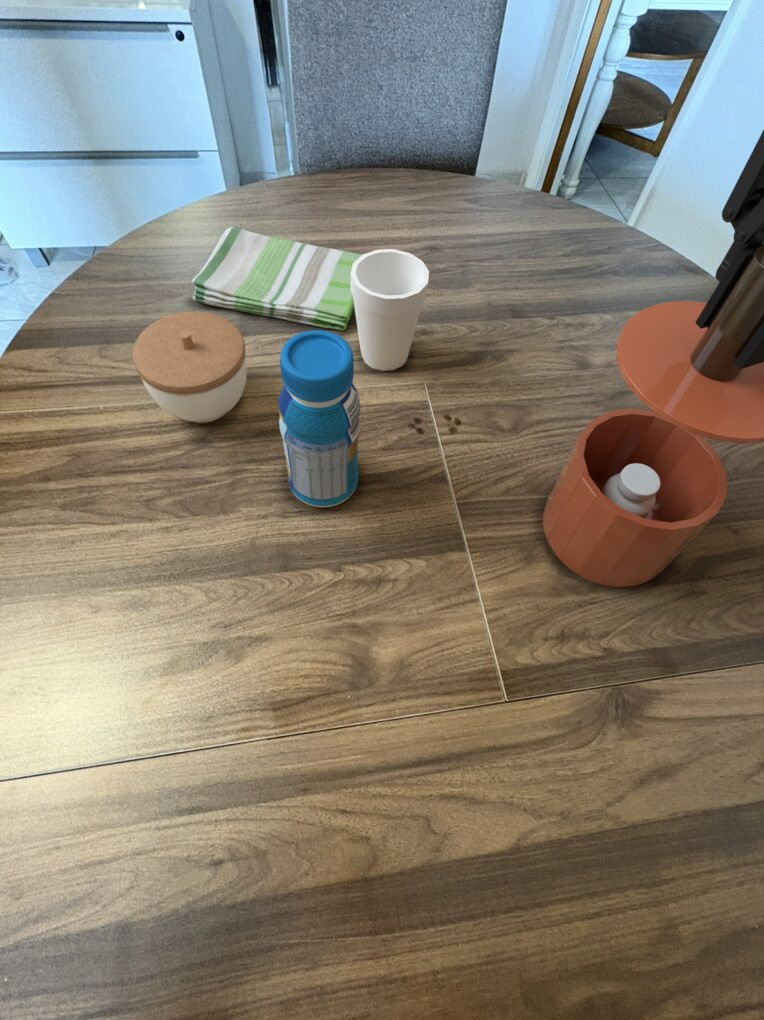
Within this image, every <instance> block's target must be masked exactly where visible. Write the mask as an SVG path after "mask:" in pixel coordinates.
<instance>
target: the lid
mask: <svg viewBox="0 0 764 1020" xmlns="http://www.w3.org/2000/svg"><path fill="white" fill-rule="evenodd" d="M706 304H707V302H703V301H692V300H675V301H665V302H661V303H657V304H654V305H651V306H648V307H646V308H644V309H642V310H639V311H638V312H637V313H635V314H634V315H633V316H632V317H631V318H629V320H628V321H626V323H625V325H623V328H622V329H621V331H620V333H619V336H618V339H617V342H616V350H615V351H616V360H617V361H616V362H617V366H618V368H619V371H620V374H621V376H622V378H623V380H624V381H625V383H626V385H627V386H628V387H629V389H630V390H631V392H632V393H633V394H634V395H635V396H636V398H638V399H639V400H640V402H641V403H643V404H644V405H645V406H646V407H647V408H648V409H649V410H650V411H654V412H655V413H656V414H658V415H659V416H661V417H662V418H664V419H665V420H667V421H669V422H670V423H672V424H674V425H676V426H678V427H680V428H682V429H684V430H686V431H689V432H691V433H694V434H697V435H699V436H703V438H706V439H710V440H714V441H719V442H720V441H721V442H726V443H732V444H733V443H735V444H757V443H764V362H762V363H759V364H756V365H753V366H749V367H746V368H743V369H740V368H739V367H738V366H737V365H736V364H735V363H734V362H735V361H736V359H737V358H738V356H739V355H740V354H741V352H742V351H743V349H744V348H745V347H746V345H747V344H748V343H749V341H750V340H751V338H752V337H753V336H754V334H755V333H756V331H757V330H758V329H759V327H760V326H761V324H762V323H763V322H764V245H763V246H761V247H759V248H758V249H757V250H756V252H755V253H754V255H753V256H752V258H751V260H750V261H749V263H748V264H747V266H746V267H745V269H744V271H743V272H742V274H741V275H740V277H739V279H738V280H737V282H736V283H735V285H734V287H733V288H732V290H731V291H730V293H729V294H728V296H727V298H726V299H725V301H724V302H723V304H722V306H721V307H720V309H719V310H718V312H717V313H716V315H715V317H714V318H713V320H712V321H711V323H710V325H709V326H708V327H706V328H702V329H701V328H700V327H699V326H698V325H697V324H696V323H695V322H696V320H697V319H698V317H699V315H700V314H701V312H702V310H703V309H704V307H705V306H706Z"/></svg>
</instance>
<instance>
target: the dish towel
mask: <svg viewBox="0 0 764 1020" xmlns="http://www.w3.org/2000/svg"><path fill="white" fill-rule="evenodd" d="M362 255H363V254H362V253H356V252H352V251H347V250H340V249H335V248H332V247H327V246H320V245H313V244H309V243H303V242H299V241H296V240H293V239H288V238H283V237H282V238H281V237H274V236H268V235H264V234H260V233H257V232H253V231H249V230H246V229H243V228H241V227H238V226H231V227H227V228H225V230H224V232H222V235H221V237H220V238H219V240H218V242H217V244H216V245H215V247H214V249H213V251H212V253H211V254H210V256H209V257H208V259H207V261H206V263H205V264H204V265H203V267H202V268H201V270H200V271H199V272H198V273H197V274H196V275H195V276H194V277H193V278H192V279H191V284H192V285H193V286H194V293H192V300H193V301H194V302H197V303H199V304H203V305H208V306H214V307H219V308H225V309H230V310H233V311H240V312H243V313H244V312H245V313H247V314H248V313H249V314H254V315H259V316H266V317H272V318H277V319H281V320H285V321H289V322H294V323H299V324H304V325H311V326H314V327H317V328H319V327H320V328H323V329H332V330H339V331H344V330H346V328H347V326H348V323H349V322H350V319H352V318H351V317H352V315H353V311H354V310H355V307H354V300H353V295H352V293H351V270H352V265H353V263H354V262H355V261H356V260H357V259H358V258H359V257H360V256H362Z"/></svg>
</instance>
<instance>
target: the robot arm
mask: <svg viewBox="0 0 764 1020" xmlns="http://www.w3.org/2000/svg"><path fill="white" fill-rule="evenodd" d="M747 159H748V160H747V161H746V163H745V165H744V167H743V169H742V171H741V173H740V175H739V177H738V178H737V180H736V183H735V185H734V187H733V188H732V191H731V193H730V195H729V197H728V199H727V201H726V203H725V204H724V206H723V209H722V211H721V218H722V220H723V222H725V223H730V225H731V227H732V228H733V231H734V232H733V242H732V243H731V245H730V247H729V248H728V251H726V254H725V255H724V257H723V259H722V260H721V262H720V264H719V266H718V267H717V269H716V272H715V276H714V278H715V280H717V281H718V284H717V286H716V287H715V289H714V291H713V292H712V294H711V296H710V297H709V299H708V300H707V302H706V303H707V304H706V306H705V307H704V309H703V310H702V312H701V314H700V315H699V317H698V319H697V320H696V322H695V323H696V324H697V325H698V326H699V327H700V328H701V329H702V328H706V327H708V326H709V325H710V323H711V321H712V320H713V318H714V317H715V315H716V313H717V312H718V310H719V309H720V307H721V306H722V304H723V302H724V301H725V299H726V298H727V296H728V294H729V293H730V291H731V290H732V288H733V287H734V285H735V283H736V282H737V280H738V279H739V277H740V275H741V274H742V272H743V271H744V269H745V267H746V266H747V264H748V263H749V261H750V260H751V258H752V256H753V255H754V253H755V252H756V250H757V249H758V248H759V247H761V246H763V245H764V129H763V130H762V132H761V133H760V136H759V138H758V140H757V142H756V144H755V146H754V148H753V150H752V152H751V153H750V155H749V157H748V158H747ZM762 362H764V322H763V323H762V324H761V326H760V327H759V329H758V330H757V331H756V333H755V334H754V336H753V337H752V338H751V340H750V341H749V343H748V344H747V345H746V347H745V348H744V349H743V351H742V352H741V354H740V355H739V356H738V358H737V359H736V361H735V362H734V363H735V364H736V365H737V366H738V367H739V368H740V369H743V368H746V367H749V366H753V365H756V364H759V363H762Z"/></svg>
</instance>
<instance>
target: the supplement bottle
mask: <svg viewBox="0 0 764 1020" xmlns="http://www.w3.org/2000/svg"><path fill="white" fill-rule="evenodd" d="M659 488H660V478H659V476H658V475H657V473H656V472H655V471H654V470H653V469H652V468H650V467H648V466H646V465H643V464H639V463H634V464H629V465H627V466H626V467H625V468H624V469H623V470H622V471H621V473H619V474H616V475H614V476H612V477H611V478H610V479H609V480H608V481H607V482H606V484H605V485H604V487H603V488H602V490H601V493H602V494H603V495H605V496H606V497H607V498H609V499H610V500H611V501H612V502H614V503H615V504H616V505H618V506H619V507H620V508H621V509H623V510H626V511H628V512H630V513H633V514H635V515H638V516H640V517H642V518H645V517H646V516H647V515H648V514H649V513H650V511H651V510H652V509H653V507H654V505H655V501H656V496H655V494H656V493H657V491H658V490H659Z"/></svg>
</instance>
